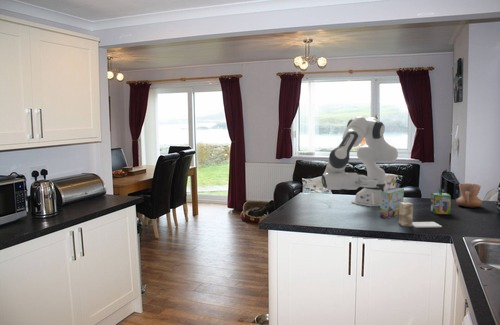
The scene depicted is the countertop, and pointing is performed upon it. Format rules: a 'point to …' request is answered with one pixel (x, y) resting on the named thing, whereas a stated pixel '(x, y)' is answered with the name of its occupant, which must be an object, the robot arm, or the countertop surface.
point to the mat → (425, 224)
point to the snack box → (391, 202)
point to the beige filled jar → (405, 214)
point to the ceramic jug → (469, 195)
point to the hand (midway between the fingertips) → (379, 181)
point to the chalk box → (440, 203)
